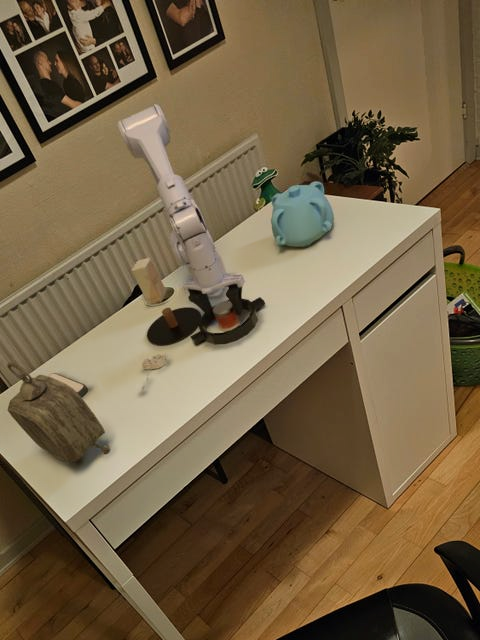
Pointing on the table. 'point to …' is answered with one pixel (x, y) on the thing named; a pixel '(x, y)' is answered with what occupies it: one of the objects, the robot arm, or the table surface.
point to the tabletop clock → (55, 416)
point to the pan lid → (173, 326)
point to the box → (149, 280)
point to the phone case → (70, 383)
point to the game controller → (154, 363)
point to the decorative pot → (301, 215)
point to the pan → (234, 333)
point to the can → (226, 316)
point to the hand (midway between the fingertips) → (225, 314)
